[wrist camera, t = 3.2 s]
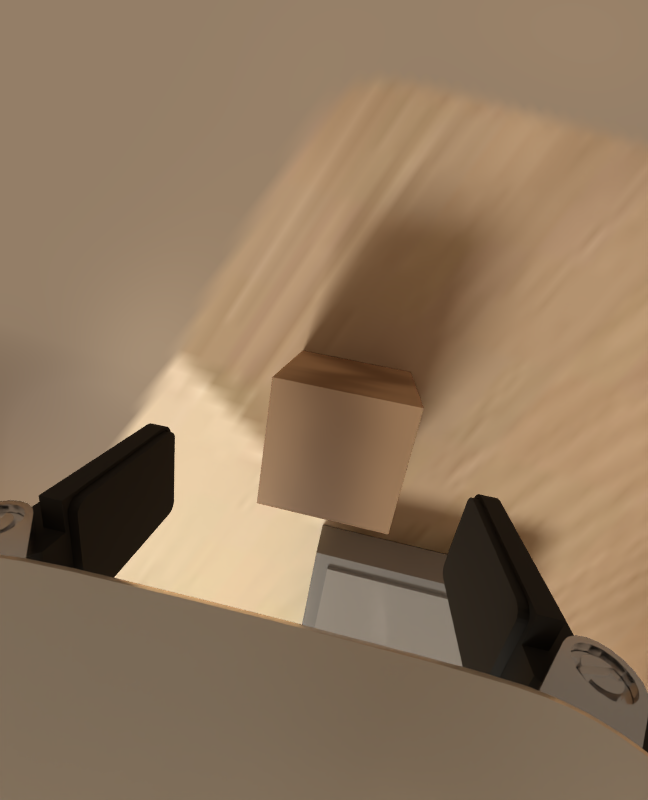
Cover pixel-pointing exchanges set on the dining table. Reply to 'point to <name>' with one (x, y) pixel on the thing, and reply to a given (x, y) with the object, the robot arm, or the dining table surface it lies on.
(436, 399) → the dining table surface
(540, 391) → the dining table surface
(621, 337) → the dining table surface
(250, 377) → the dining table surface
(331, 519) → the cube
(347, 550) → the tray
